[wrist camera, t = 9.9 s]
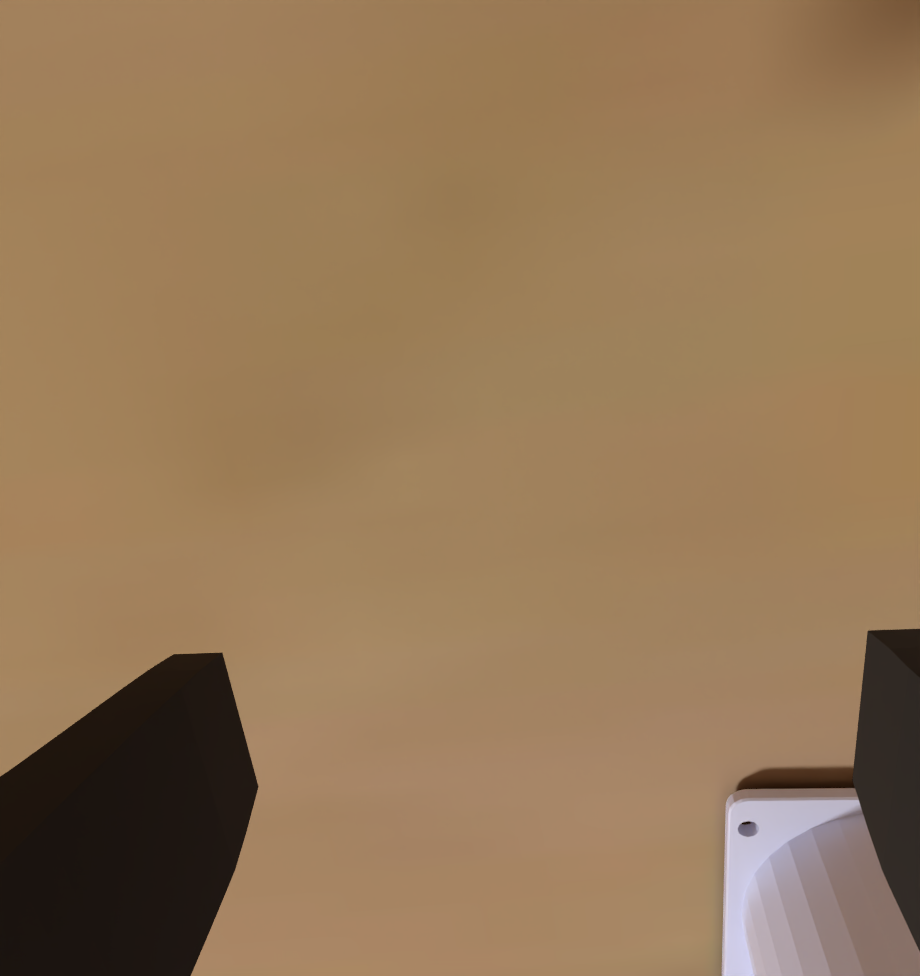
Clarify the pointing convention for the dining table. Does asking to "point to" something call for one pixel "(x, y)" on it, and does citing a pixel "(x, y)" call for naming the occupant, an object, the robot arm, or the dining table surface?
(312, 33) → the dining table surface
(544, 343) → the dining table surface
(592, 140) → the dining table surface
